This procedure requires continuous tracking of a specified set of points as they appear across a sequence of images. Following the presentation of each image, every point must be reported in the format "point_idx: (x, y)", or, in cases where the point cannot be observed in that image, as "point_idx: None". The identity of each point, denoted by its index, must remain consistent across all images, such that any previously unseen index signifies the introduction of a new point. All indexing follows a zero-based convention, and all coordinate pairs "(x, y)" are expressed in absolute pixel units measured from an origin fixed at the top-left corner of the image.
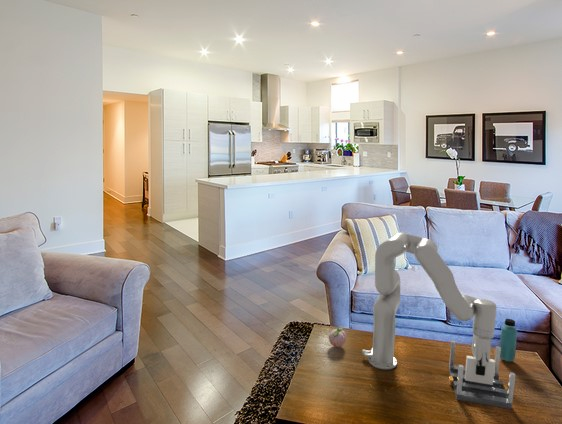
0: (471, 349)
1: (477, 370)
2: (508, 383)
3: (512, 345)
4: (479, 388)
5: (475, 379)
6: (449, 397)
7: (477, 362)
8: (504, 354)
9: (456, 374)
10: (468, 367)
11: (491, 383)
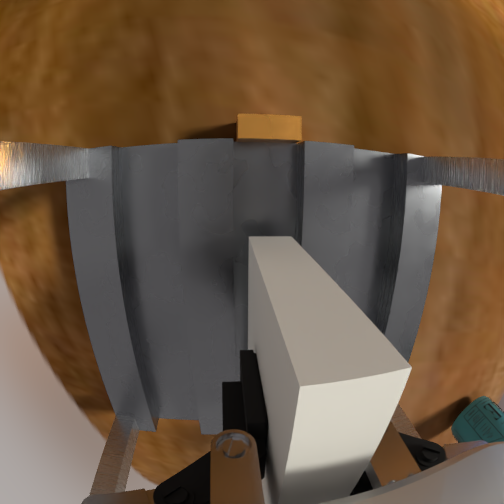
0: (497, 444)
1: (242, 386)
2: None
3: None
4: (189, 320)
5: (250, 318)
6: (94, 112)
7: (254, 463)
8: (473, 424)
9: (338, 181)
10: (263, 307)
11: None
